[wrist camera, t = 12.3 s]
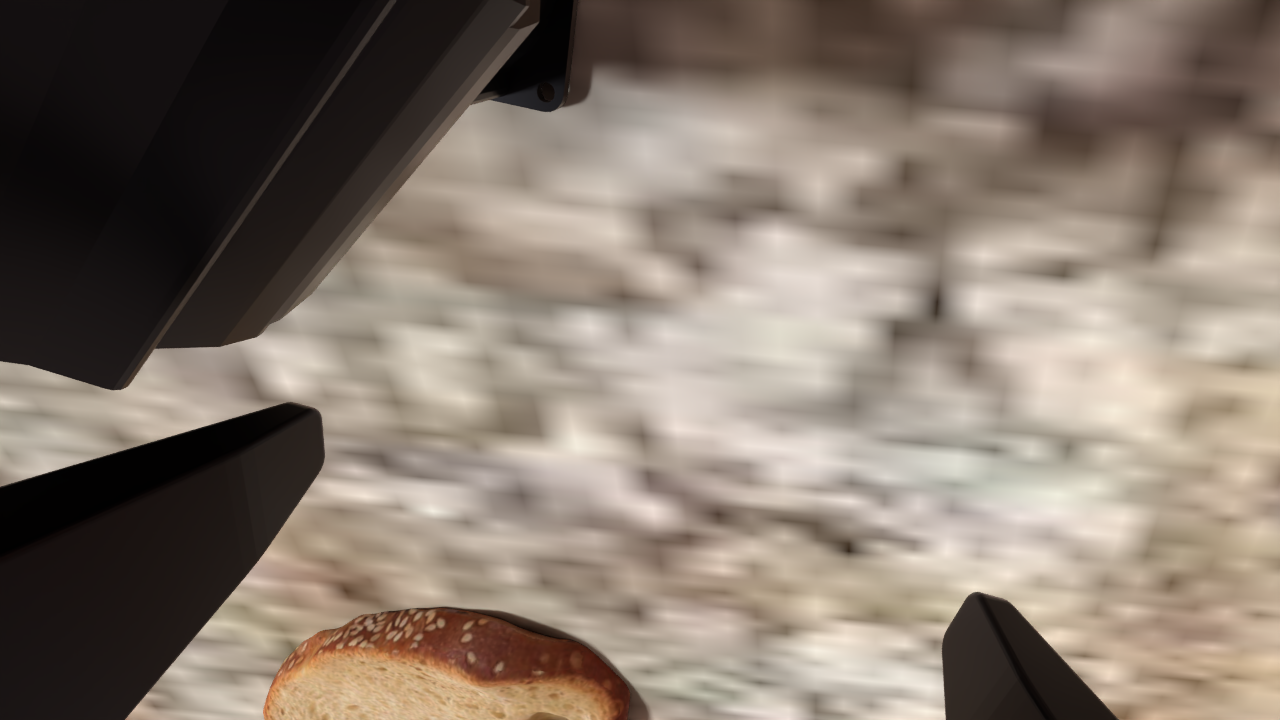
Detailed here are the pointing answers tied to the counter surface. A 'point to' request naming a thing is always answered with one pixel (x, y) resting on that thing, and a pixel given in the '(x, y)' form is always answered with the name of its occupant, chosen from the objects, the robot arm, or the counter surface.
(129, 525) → the robot arm
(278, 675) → the slice of bread
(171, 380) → the counter surface
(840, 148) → the counter surface
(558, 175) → the counter surface
